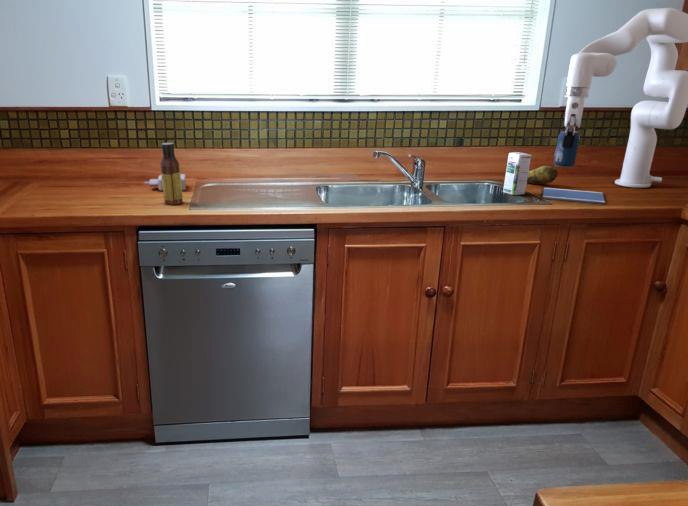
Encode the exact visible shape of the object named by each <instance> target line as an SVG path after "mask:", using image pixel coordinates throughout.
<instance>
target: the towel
mask: <svg viewBox="0 0 688 506" xmlns="http://www.w3.org/2000/svg"><path fill="white" fill-rule="evenodd" d="M542 200H550V201H563V202H572V203H583V204H584V203H585V204H593V205H595V204H597V205H606V200H605V197H604V193H603V192H602V191H591V190H580V189H566V188H555V187H554V188H553V187H543V192H542Z"/></svg>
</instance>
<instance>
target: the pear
mask: <svg viewBox="0 0 688 506" xmlns="http://www.w3.org/2000/svg"><path fill="white" fill-rule="evenodd" d="M558 176H559V171H558V169H557V168H556V167H554V166H553V165H542V166H540V167H537V168H534V169H532V170H531V169H530V170H529V172H528V178H527V184H533V185H538V186H539V185H540V186H541V185H546V184H551V183H552V182H554V181H555V180H556V178H557V177H558Z"/></svg>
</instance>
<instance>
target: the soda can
mask: <svg viewBox="0 0 688 506" xmlns="http://www.w3.org/2000/svg"><path fill="white" fill-rule="evenodd" d="M567 133H568V132H567ZM579 133H580V132H579V131H578V130H575V133H574V136H575V137H574V142H573V147H572V148H565V147H563V141H564V135H565V134H566V129H564V130H560V133H559V134H558V136H557V142H556V147H555V152H554V157H553V164H554V166H555V167H558V168H573V166H574V165H575V164H576V159H577V155H578V149H579V144H580V138H581V137H580V134H579Z"/></svg>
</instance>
